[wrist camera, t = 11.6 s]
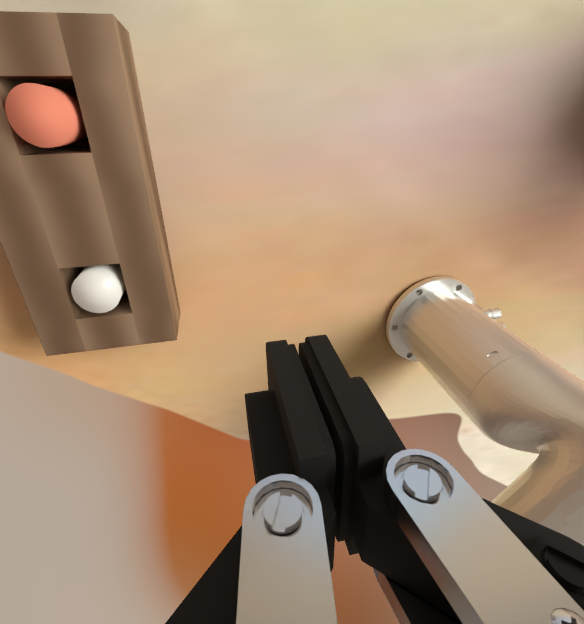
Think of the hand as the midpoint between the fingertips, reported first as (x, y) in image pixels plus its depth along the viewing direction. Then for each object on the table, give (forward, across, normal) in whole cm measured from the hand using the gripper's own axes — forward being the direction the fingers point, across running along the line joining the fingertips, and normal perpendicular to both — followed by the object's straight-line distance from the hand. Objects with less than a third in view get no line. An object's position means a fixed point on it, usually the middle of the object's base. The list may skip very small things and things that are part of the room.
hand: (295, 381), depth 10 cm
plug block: (+31, +13, 0) cm, 34 cm away
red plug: (+29, +13, -7) cm, 33 cm away
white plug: (+30, +13, +7) cm, 34 cm away
